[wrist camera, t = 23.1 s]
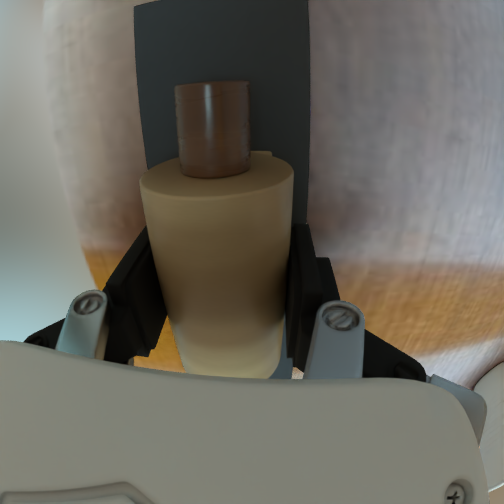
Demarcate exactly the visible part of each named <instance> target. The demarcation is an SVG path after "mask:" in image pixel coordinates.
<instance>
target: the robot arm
mask: <svg viewBox="0 0 504 504" xmlns="http://www.w3.org/2000/svg"><path fill="white" fill-rule="evenodd" d="M166 317H167V311H166V307H165V303H164V299H163V295H162V292H161V288H160V284H159V279H158V275H157V271H156V267H155V263H154V258H153V254H152V249H151V244H150V240H149V235H148V230H147V225H146V226H145V227H144V229H143V230H142V232H141V233H140V234H139V236H138V237H137V239H136V240H135V241H134V243H133V244H132V246H131V247H130V248H129V250H128V251H127V253H126V254H125V256H124V257H123V258H122V260H121V261H120V263H119V264H118V266H117V267H116V269H115V270H114V272H113V273H112V275H111V276H110V278H109V279H108V281H107V282H106V286H105V287H104V289H103V291H100V290H89V291H86V292H83V293H81V294H80V295H78V296H77V297H76V298H75V299H74V300H73V301H72V303H71V305H70V307H69V310H68V313H67V315H66V318H64V319H62V320H60V321H58V322H56V323H54V324H52V325H50V326H48V327H46V328H44V329H42V330H39V331H37V332H36V333H34V334H32V335H30V336H29V337H28V338H27V339H26V340H25V341H24V342H17V341H0V504H490V500H489V493H488V486H487V480H486V474H485V469H484V464H483V461H482V457H481V453H480V449H479V445H480V441H481V437H482V433H483V429H484V425H485V421H486V416H487V405H486V402H485V400H484V399H483V397H482V396H481V395H479V394H478V393H476V392H474V391H471V390H469V389H467V388H464V387H462V386H460V385H457V384H455V383H453V382H451V381H448V380H446V379H444V378H441V377H439V376H437V375H435V374H433V375H432V376H431V377H430V376H428V375H426V373H425V370H424V368H423V367H422V365H421V364H420V363H419V362H417V361H416V360H415V359H413V358H412V357H410V356H408V355H407V354H405V353H403V352H402V351H400V350H398V349H397V348H395V347H393V346H392V345H390V344H389V343H387V342H385V341H384V340H382V339H380V338H379V337H377V336H375V335H374V334H372V333H371V332H369V331H367V330H366V329H364V328H365V319H364V315H363V313H362V312H361V310H360V309H359V308H358V307H357V306H355V305H353V304H351V303H349V302H346V301H341V300H340V296H339V292H338V289H337V285H336V281H335V277H334V273H333V270H332V266H331V263H330V259H329V258H326V257H316V255H315V251H314V246H313V242H312V238H311V233H310V229H309V225H308V224H299V223H294V224H293V227H291V236H290V251H289V265H288V279H287V291H286V303H285V325H286V356H287V358H292V364H293V367H297V368H298V369H299V370H301V371H302V372H303V373H304V375H303V379H255V378H236V377H221V376H209V375H198V374H188V373H179V372H171V371H163V370H156V369H149V368H142V367H136V366H134V358H133V357H135V356H136V355H137V356H143V357H148V356H149V353H150V351H151V349H155V347H156V344H157V342H158V339H159V336H160V333H161V330H162V328H163V325H164V322H165V319H166Z"/></svg>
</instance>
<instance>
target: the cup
mask: <svg viewBox="0 0 504 504" xmlns="http://www.w3.org/2000/svg"><path fill="white" fill-rule="evenodd" d="M474 392H476V393H478V394H479V395H481V396H482V397H483V399H484V400H485V402H486V405H487V416H486V421H485V425H484V429H483V433H482V437H481V441H480V445H479V446H480V448H479V449H480V453H481V457H482V461H483V464H484V469H485V474H486V480H487V486H488V492H490V491H492V490H494V489H496V488H498V487H500V486H502V485H504V362H502V363H500V364H499V365H497V366H496V367H494V368H493V369H492V370H490V371H489V372H488V373H487V374H486V375H485V376H483V377H482V378H481V379H480V381H479V382H478V383H477V384H476V386H475V388H474Z"/></svg>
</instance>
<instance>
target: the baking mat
mask: <svg viewBox="0 0 504 504" xmlns="http://www.w3.org/2000/svg"><path fill="white" fill-rule="evenodd" d="M134 37H135V58H136V73H137V85H138V96H139V106H140V115H141V124H142V132H143V140H144V147H145V154H146V161H147V167H148V170H149V169H151V168H152V167H154V166H156V165H158V164H160V163H163V162H165V161H168V160H171V159H174V158H178V157H179V149H178V138H177V125H176V110H175V94H174V87H175V86H176V85H179V84H187V83H197V82H210V81H230V80H247V81H249V82H250V130H251V151H270V152H271V153H272V156H273V157H276V158H279V159H281V160H283V161H285V162H287V163H288V164H290V166H291V167H292V169H293V171H294V182H293V202H292V220H291V227H293V224H294V223H299V224H306V217H307V199H308V177H309V147H310V44H309V17H308V0H158V1H154V2H150V3H146V4H142V5H138V6H134ZM292 369H293V364H292V358H287V356H286V325H285V315H284V326H283V336H282V346H281V356H280V361H279V364H278V366H277V368H276V369H275V371H274V372H273V374H272V375H271V376H270V377H269V378H268V379H291V376H292Z"/></svg>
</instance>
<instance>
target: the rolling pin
mask: <svg viewBox="0 0 504 504" xmlns="http://www.w3.org/2000/svg"><path fill="white" fill-rule="evenodd" d="M174 94H175V110H176V125H177V138H178V149H179V157H178V158H174V159H171V160H168V161H165V162H163V163H160V164H158V165H156V166H154V167H152V168H151V169H149V170H148V171H146V172H145V173H144V174H143V175H142V176H141V178H140V182H139V186H140V192H141V198H142V203H143V209H144V214H145V220H146V225H147V230H148V235H149V240H150V244H151V249H152V254H153V258H154V263H155V267H156V271H157V275H158V279H159V284H160V288H161V292H162V295H163V299H164V303H165V307H166V311H167V314H168V318H169V321H170V325H171V328H172V332H173V335H174V339H175V342H176V345H177V349H178V352H179V355H180V358H181V361H182V365H183V367H184V369H185V371H186V372H187V373H188V374H198V375H209V376H221V377H236V378H255V379H268V378H269V377H270V376H271V375H272V374H273V372H274V371H275V369H276V368H277V366H278V364H279V361H280V356H281V346H282V336H283V326H284V315H285V303H286V291H287V279H288V265H289V251H290V236H291V220H292V202H293V182H294V171H293V169H292V167H291V166H290V164H288V163H287V162H285V161H283V160H281V159H279V158H276V157H273V156H272V153H271V152H270V151H251V130H250V82H249V81H247V80H230V81H210V82H197V83H187V84H179V85H176V86H175V87H174Z"/></svg>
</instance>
